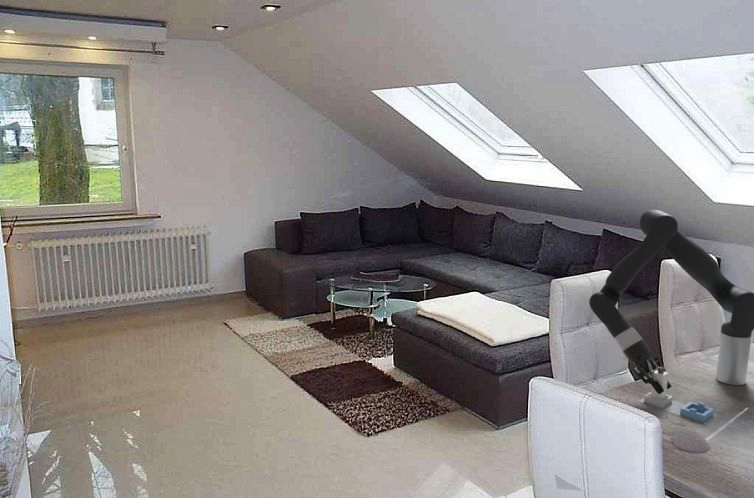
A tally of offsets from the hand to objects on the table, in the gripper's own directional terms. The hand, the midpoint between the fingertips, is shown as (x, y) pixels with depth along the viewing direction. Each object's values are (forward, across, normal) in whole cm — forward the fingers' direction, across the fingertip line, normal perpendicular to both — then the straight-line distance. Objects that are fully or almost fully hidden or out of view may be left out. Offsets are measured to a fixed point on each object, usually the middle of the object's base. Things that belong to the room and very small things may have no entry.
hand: (665, 390), depth 197 cm
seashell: (+15, -18, -7) cm, 25 cm away
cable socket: (+7, 0, +1) cm, 7 cm away
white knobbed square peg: (+2, 0, +5) cm, 5 cm away
